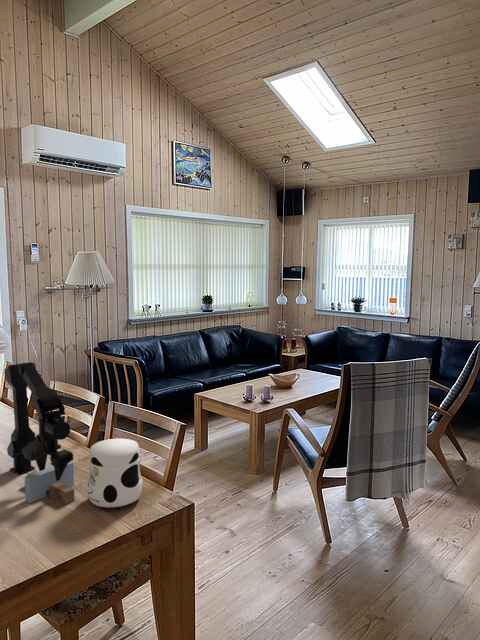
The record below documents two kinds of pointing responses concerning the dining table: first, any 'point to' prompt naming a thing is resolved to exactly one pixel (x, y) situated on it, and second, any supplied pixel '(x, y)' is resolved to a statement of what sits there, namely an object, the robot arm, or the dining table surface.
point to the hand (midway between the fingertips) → (49, 476)
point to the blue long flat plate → (46, 482)
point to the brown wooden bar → (60, 492)
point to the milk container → (114, 473)
